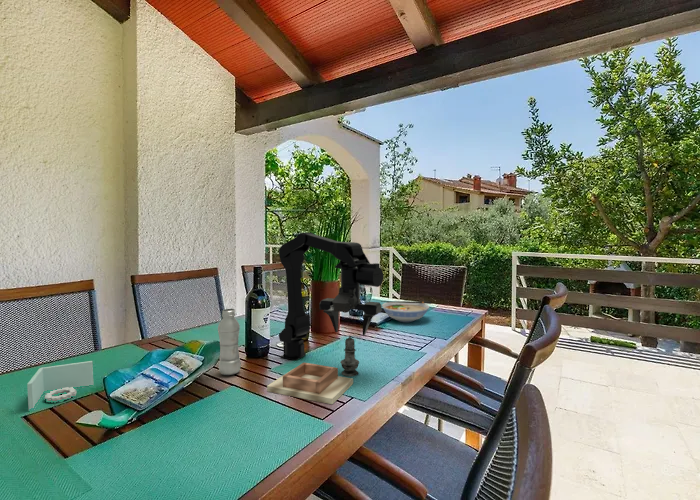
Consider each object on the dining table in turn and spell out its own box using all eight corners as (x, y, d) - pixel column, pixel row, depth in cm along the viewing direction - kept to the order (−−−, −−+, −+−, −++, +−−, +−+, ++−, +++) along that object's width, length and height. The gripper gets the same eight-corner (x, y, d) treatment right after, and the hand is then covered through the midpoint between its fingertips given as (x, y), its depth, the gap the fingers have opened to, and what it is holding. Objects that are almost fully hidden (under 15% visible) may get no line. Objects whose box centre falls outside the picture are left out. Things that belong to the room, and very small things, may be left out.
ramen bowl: (377, 325, 175) (377, 308, 175) (381, 314, 198) (381, 298, 197) (432, 328, 171) (433, 310, 171) (430, 316, 194) (430, 300, 193)
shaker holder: (267, 391, 106) (266, 375, 105) (293, 373, 119) (293, 359, 118) (332, 404, 98) (332, 387, 98) (353, 383, 111) (353, 368, 110)
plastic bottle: (245, 371, 120) (244, 308, 119) (230, 379, 114) (228, 313, 112) (229, 368, 123) (228, 306, 121) (213, 375, 116) (212, 311, 115)
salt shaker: (357, 377, 115) (357, 338, 115) (338, 376, 116) (338, 337, 116) (360, 370, 121) (360, 333, 120) (342, 368, 122) (342, 332, 121)
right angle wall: (28, 413, 94) (27, 384, 94) (41, 394, 105) (39, 367, 104) (87, 403, 100) (86, 375, 99) (93, 386, 110) (92, 360, 110)
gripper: (310, 285, 113) (310, 337, 114) (370, 289, 106) (369, 344, 107) (327, 280, 123) (327, 327, 124) (382, 284, 116) (381, 334, 117)
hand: (350, 333), depth 118 cm, fingers open, 9 cm apart
